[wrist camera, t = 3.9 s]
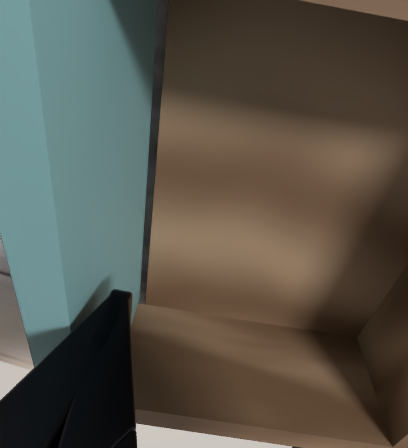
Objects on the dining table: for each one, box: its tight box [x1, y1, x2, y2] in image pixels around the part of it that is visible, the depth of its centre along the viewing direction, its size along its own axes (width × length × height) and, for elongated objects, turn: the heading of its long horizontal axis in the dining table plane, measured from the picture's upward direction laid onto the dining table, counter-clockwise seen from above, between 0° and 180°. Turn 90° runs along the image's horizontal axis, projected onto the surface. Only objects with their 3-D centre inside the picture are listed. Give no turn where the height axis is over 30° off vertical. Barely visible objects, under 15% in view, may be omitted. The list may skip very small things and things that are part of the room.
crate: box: [131, 0, 408, 448], centre depth 12 cm, size 16×13×6 cm
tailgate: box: [0, 0, 158, 368], centre depth 10 cm, size 13×1×7 cm, turn 171°
